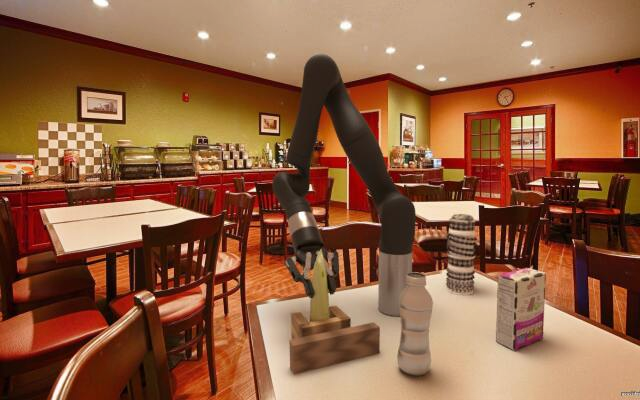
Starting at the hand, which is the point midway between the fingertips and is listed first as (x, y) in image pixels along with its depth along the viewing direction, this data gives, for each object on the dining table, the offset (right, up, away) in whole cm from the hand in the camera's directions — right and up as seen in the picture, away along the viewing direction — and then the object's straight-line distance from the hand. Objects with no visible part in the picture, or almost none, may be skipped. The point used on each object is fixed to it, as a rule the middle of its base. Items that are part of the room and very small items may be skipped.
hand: (322, 294), depth 79 cm
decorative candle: (+45, -8, +33) cm, 57 cm away
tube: (-1, -10, +3) cm, 11 cm away
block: (-1, -12, +3) cm, 12 cm away
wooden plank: (+3, -13, -6) cm, 14 cm away
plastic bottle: (+18, -13, -9) cm, 25 cm away
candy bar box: (+46, -12, +2) cm, 48 cm away
